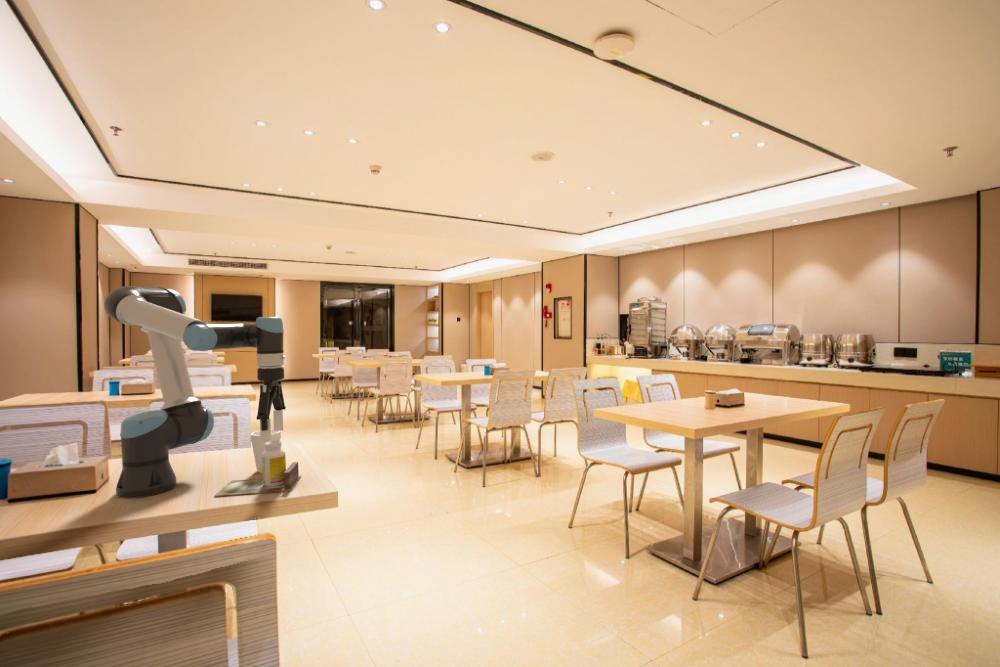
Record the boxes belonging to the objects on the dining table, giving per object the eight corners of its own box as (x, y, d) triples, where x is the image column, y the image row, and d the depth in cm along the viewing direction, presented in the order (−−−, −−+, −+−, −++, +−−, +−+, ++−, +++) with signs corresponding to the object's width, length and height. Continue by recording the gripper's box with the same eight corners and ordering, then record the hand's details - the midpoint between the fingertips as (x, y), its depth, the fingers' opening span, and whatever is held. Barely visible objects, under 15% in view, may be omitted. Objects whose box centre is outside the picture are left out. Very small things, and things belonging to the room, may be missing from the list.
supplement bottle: (291, 481, 155) (289, 440, 155) (276, 488, 149) (274, 445, 149) (273, 479, 157) (271, 439, 157) (257, 486, 151) (256, 444, 150)
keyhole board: (214, 497, 144) (213, 478, 144) (231, 481, 158) (231, 465, 157) (290, 491, 147) (289, 473, 147) (301, 476, 161) (300, 460, 161)
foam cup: (273, 474, 165) (272, 435, 164) (246, 474, 165) (245, 435, 165) (286, 465, 174) (285, 429, 174) (260, 466, 174) (259, 429, 174)
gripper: (271, 370, 140) (273, 445, 141) (293, 363, 165) (295, 426, 166) (243, 371, 139) (245, 446, 140) (269, 363, 164) (271, 427, 164)
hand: (272, 435), depth 153 cm, fingers open, 13 cm apart
